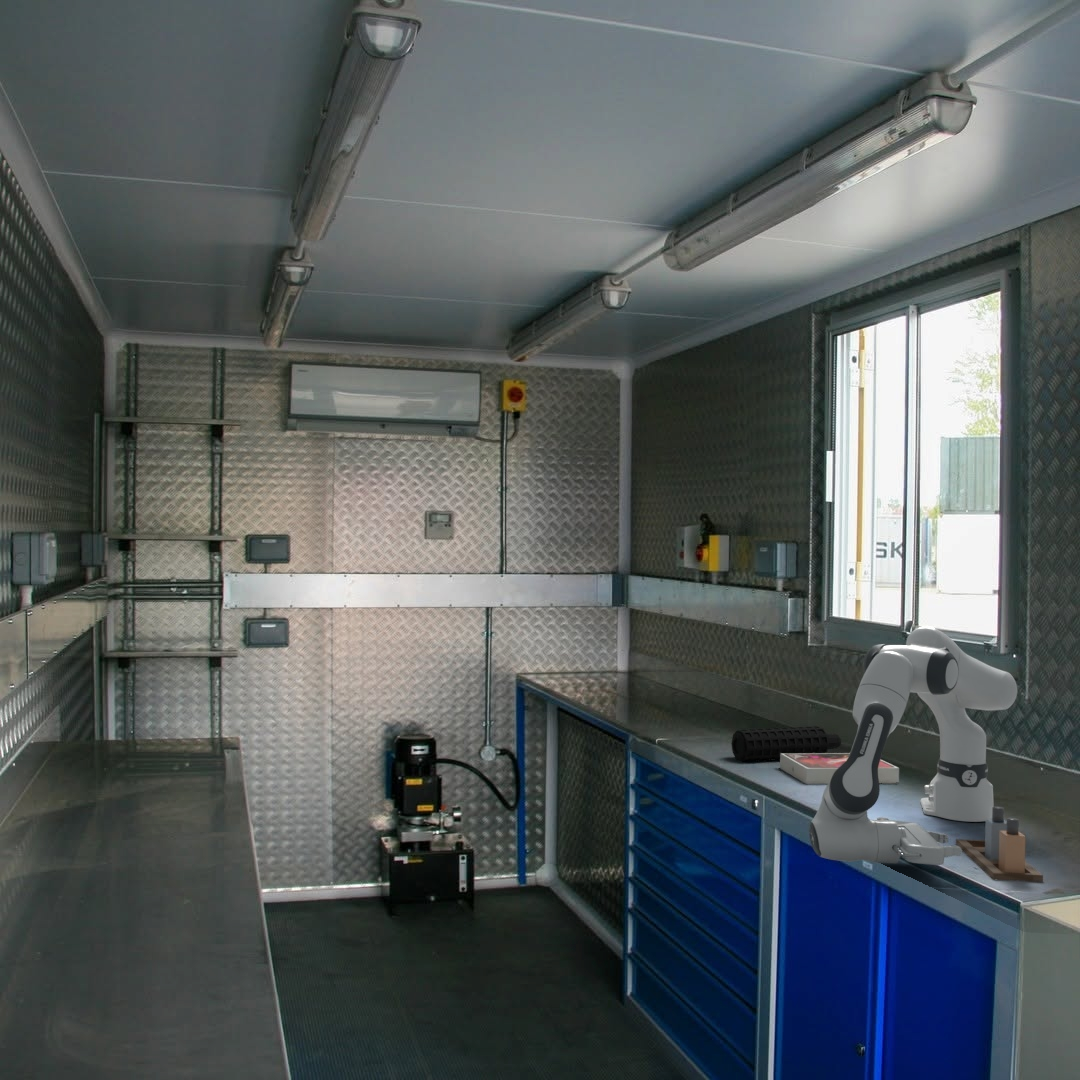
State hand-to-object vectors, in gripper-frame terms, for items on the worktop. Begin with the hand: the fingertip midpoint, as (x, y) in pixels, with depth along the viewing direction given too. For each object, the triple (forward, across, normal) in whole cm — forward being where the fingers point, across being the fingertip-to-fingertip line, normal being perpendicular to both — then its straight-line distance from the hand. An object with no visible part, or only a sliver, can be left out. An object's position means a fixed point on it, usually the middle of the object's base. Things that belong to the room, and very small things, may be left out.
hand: (953, 844), depth 233 cm
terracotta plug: (+12, 0, +6) cm, 14 cm away
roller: (-17, +119, +6) cm, 120 cm away
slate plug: (+12, +9, +6) cm, 16 cm away
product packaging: (-6, +95, +7) cm, 95 cm away
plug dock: (+12, +9, +6) cm, 16 cm away
